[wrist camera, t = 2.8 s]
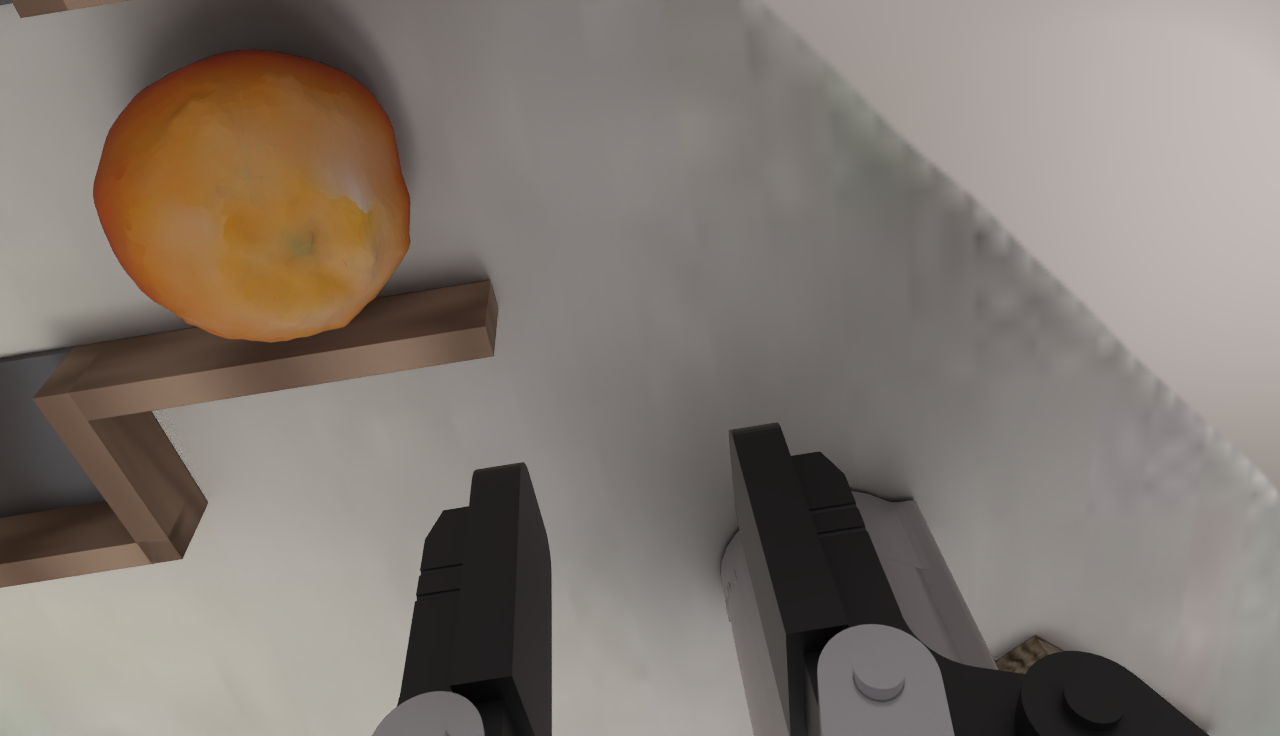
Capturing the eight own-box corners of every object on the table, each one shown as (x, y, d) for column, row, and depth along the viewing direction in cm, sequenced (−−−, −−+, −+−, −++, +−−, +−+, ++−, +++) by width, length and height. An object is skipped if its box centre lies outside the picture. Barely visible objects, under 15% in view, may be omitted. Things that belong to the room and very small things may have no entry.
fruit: (27, 14, 22) (79, 115, 17) (326, 2, 26) (437, 81, 21) (106, 279, 27) (164, 419, 22) (349, 233, 31) (445, 342, 26)
